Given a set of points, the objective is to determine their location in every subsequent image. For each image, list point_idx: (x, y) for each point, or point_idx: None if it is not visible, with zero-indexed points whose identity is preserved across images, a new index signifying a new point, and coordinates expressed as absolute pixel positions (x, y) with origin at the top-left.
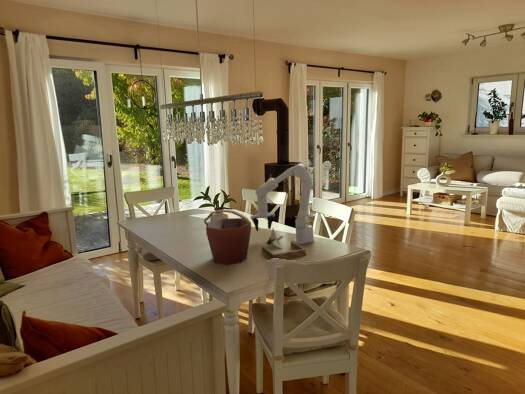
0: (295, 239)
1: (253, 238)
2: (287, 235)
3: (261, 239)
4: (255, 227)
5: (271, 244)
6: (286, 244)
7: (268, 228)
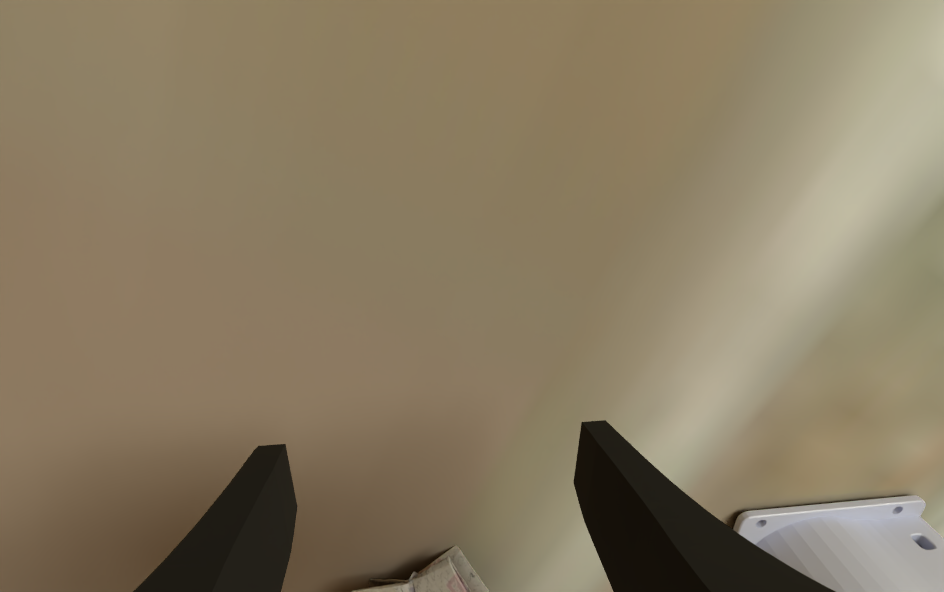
0: (770, 521)
1: (279, 177)
2: (849, 296)
3: (402, 301)
4: (222, 504)
5: (434, 563)
6: (595, 579)
7: (580, 445)
